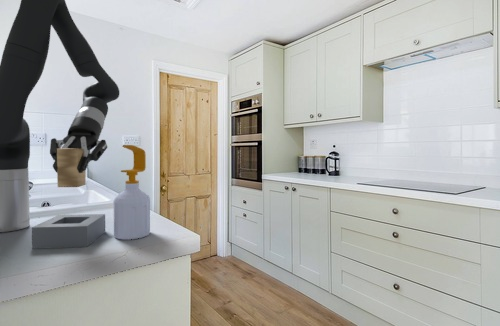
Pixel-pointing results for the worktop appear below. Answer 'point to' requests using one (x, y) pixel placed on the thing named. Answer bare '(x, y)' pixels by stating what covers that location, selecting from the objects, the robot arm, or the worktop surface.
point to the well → (68, 231)
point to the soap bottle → (132, 203)
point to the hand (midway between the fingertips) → (68, 170)
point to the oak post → (69, 167)
